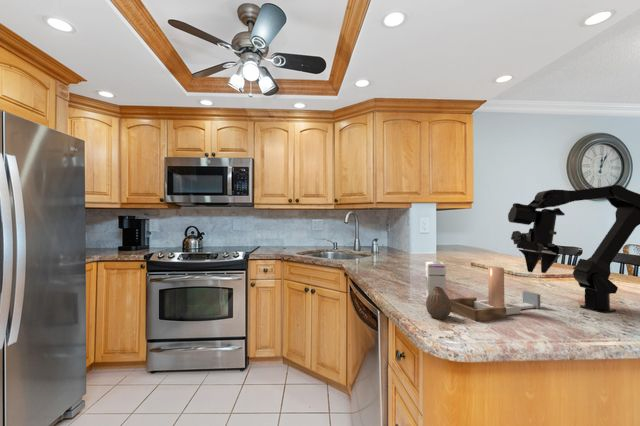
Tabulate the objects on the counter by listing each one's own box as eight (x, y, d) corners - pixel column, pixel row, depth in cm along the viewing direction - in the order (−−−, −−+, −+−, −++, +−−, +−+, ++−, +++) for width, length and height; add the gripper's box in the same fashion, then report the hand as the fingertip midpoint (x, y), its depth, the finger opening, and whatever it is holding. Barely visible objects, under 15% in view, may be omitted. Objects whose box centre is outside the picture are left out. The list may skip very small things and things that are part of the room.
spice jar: (500, 305, 93) (500, 266, 93) (507, 309, 88) (506, 269, 89) (486, 304, 93) (485, 266, 94) (491, 308, 89) (491, 268, 90)
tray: (520, 302, 100) (519, 289, 100) (546, 310, 91) (546, 296, 91) (473, 307, 94) (473, 293, 94) (497, 315, 85) (497, 300, 85)
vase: (451, 315, 86) (450, 286, 87) (451, 322, 80) (450, 291, 80) (427, 312, 89) (426, 284, 90) (425, 318, 83) (425, 288, 83)
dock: (473, 305, 96) (473, 297, 96) (506, 317, 84) (506, 307, 84) (445, 308, 93) (445, 299, 93) (475, 321, 81) (474, 310, 81)
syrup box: (447, 308, 93) (446, 264, 93) (428, 307, 94) (427, 263, 94) (443, 303, 98) (442, 261, 99) (425, 302, 100) (424, 261, 100)
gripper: (530, 227, 108) (524, 267, 108) (503, 221, 99) (496, 265, 99) (567, 230, 98) (560, 275, 98) (540, 225, 89) (533, 274, 89)
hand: (536, 272), depth 96 cm, fingers open, 9 cm apart
